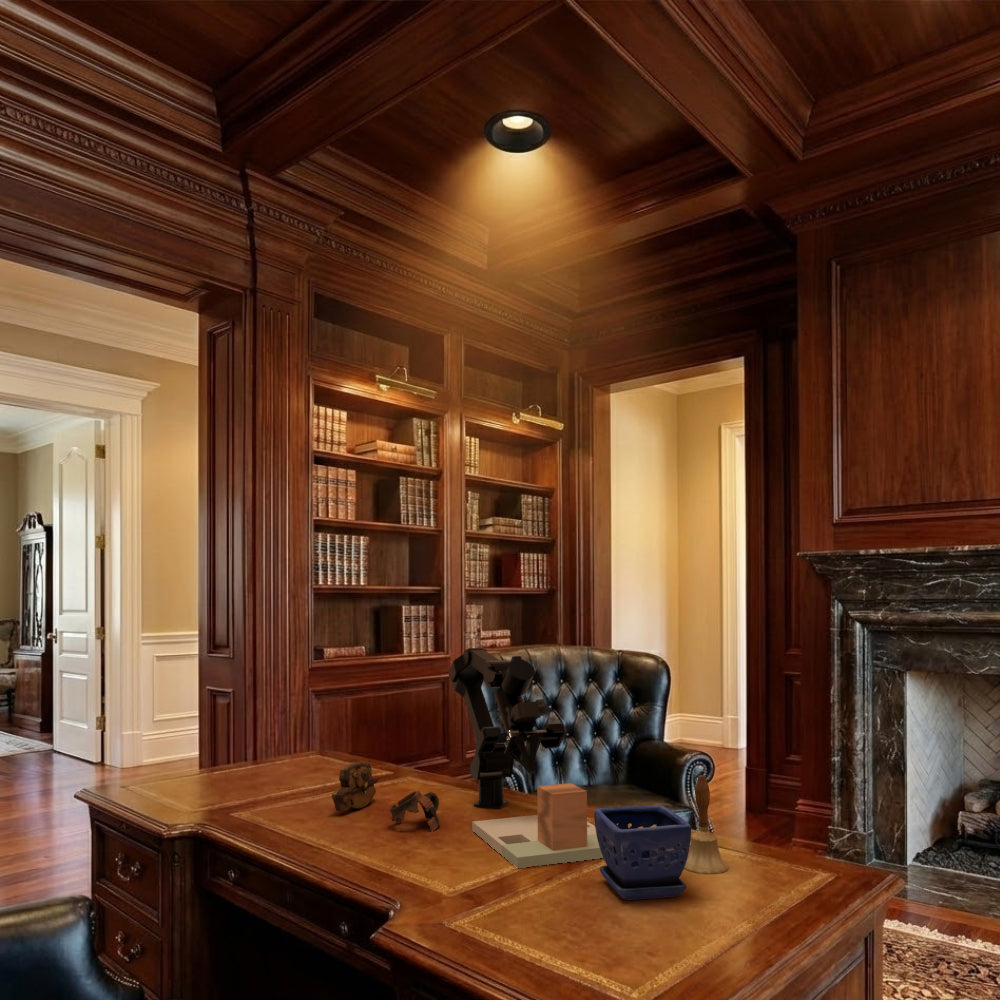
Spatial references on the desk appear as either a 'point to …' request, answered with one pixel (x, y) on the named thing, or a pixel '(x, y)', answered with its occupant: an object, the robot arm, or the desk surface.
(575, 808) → the terracotta block
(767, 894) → the desk surface
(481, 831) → the plate
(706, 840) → the hand bell
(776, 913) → the desk surface
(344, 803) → the wooden carving
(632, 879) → the flower pot
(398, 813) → the brown arched piece
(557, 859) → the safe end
